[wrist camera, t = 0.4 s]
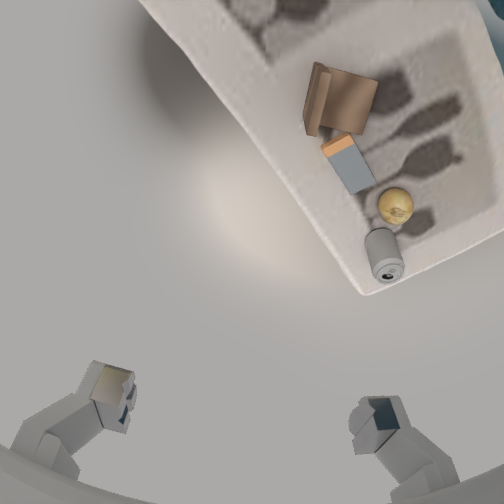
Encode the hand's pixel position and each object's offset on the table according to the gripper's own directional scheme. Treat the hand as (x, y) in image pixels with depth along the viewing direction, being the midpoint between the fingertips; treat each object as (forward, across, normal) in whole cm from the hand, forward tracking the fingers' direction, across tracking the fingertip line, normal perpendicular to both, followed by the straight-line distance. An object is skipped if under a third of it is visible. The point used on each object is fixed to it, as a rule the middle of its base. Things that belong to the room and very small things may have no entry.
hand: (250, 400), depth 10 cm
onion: (+54, -31, +2) cm, 63 cm away
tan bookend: (+48, -13, -15) cm, 52 cm away
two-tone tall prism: (+52, -19, -3) cm, 56 cm away
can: (+58, -33, +13) cm, 68 cm away
